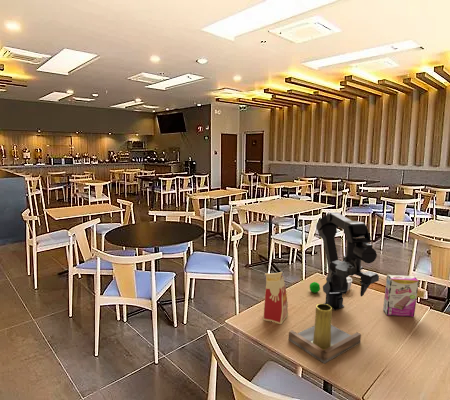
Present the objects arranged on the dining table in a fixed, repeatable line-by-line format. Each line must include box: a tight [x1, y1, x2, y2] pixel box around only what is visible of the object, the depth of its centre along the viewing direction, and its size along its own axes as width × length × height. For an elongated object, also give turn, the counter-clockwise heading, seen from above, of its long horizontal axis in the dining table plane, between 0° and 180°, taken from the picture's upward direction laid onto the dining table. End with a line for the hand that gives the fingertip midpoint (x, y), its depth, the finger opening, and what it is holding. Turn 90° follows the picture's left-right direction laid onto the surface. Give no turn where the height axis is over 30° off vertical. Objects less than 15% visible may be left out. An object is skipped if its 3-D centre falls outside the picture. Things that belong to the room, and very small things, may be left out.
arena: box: [288, 324, 362, 364], centre depth 121 cm, size 16×20×4 cm
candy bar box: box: [382, 274, 420, 318], centre depth 139 cm, size 11×5×16 cm, turn 84°
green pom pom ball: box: [309, 281, 321, 293], centre depth 160 cm, size 5×5×5 cm
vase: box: [313, 303, 333, 350], centre depth 116 cm, size 6×6×14 cm
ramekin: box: [346, 275, 353, 292], centre depth 165 cm, size 11×11×5 cm
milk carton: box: [262, 271, 289, 325], centre depth 136 cm, size 9×9×20 cm
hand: (351, 291), depth 132 cm, fingers open, 9 cm apart
